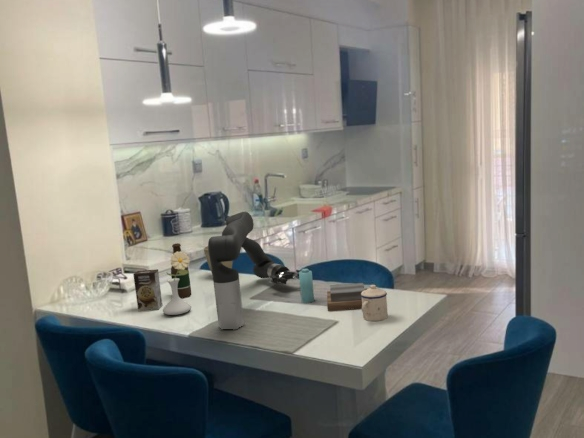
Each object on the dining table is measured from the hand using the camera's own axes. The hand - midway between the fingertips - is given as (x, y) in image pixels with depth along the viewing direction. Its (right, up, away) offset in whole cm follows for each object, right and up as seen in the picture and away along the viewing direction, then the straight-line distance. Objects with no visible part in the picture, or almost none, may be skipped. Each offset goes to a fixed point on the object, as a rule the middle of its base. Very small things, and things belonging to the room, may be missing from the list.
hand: (294, 279), depth 231 cm
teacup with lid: (+27, -10, -37) cm, 47 cm away
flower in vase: (-47, -13, -7) cm, 49 cm away
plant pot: (-36, -4, +44) cm, 57 cm away
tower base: (+21, -7, -17) cm, 27 cm away
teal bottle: (+5, -8, -8) cm, 12 cm away
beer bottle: (-50, -10, +17) cm, 54 cm away
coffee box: (-61, -13, +3) cm, 62 cm away
